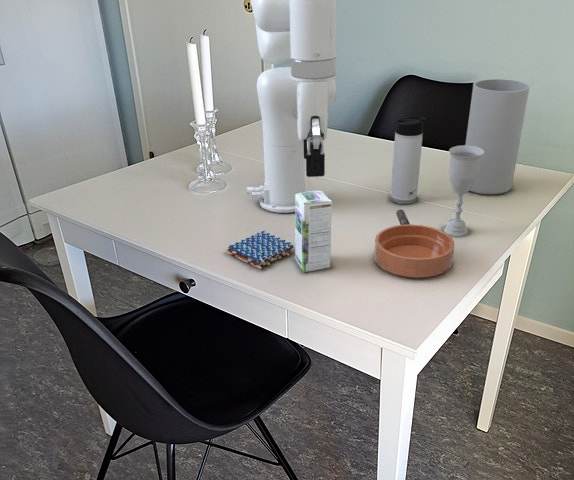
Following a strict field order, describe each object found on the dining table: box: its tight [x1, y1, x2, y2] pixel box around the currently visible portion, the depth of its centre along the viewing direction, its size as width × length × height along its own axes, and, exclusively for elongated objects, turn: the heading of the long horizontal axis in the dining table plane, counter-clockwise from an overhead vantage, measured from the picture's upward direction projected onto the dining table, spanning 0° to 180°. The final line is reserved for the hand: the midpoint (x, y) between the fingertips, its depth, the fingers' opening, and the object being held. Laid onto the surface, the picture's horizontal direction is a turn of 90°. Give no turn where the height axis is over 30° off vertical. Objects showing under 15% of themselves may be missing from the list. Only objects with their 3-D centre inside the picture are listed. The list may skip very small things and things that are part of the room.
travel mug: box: [390, 116, 426, 205], centre depth 143 cm, size 6×7×20 cm
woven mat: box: [226, 230, 295, 271], centre depth 125 cm, size 10×11×2 cm
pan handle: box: [395, 208, 411, 225], centre depth 129 cm, size 9×2×2 cm, turn 1°
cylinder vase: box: [464, 78, 531, 196], centre depth 147 cm, size 12×12×25 cm
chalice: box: [443, 144, 484, 237], centre depth 128 cm, size 7×7×18 cm
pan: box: [373, 223, 455, 278], centre depth 120 cm, size 15×15×4 cm
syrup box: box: [294, 190, 333, 273], centre depth 117 cm, size 6×6×14 cm
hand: (313, 166), depth 111 cm, fingers open, 9 cm apart
